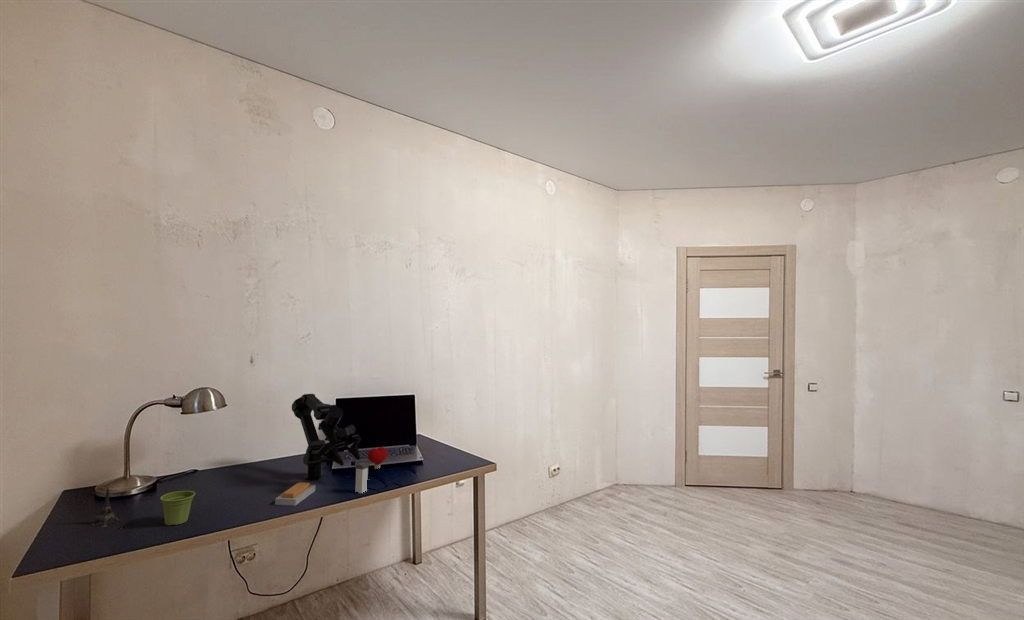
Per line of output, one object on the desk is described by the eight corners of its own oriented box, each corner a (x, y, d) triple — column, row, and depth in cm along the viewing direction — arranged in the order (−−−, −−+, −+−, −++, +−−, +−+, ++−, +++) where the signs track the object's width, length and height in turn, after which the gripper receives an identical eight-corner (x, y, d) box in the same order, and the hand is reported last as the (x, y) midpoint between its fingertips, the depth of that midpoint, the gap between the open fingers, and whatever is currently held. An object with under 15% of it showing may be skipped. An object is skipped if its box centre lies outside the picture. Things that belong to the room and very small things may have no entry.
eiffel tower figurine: (124, 529, 150) (126, 487, 150) (81, 536, 144) (84, 492, 145) (130, 513, 162) (132, 474, 163) (91, 519, 157) (94, 478, 157)
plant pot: (181, 514, 162) (183, 488, 162) (200, 519, 158) (201, 493, 158) (152, 524, 153) (153, 497, 153) (170, 530, 149) (172, 502, 150)
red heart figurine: (382, 466, 224) (383, 444, 224) (390, 469, 218) (390, 447, 219) (364, 469, 217) (365, 447, 218) (371, 473, 212) (372, 451, 212)
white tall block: (354, 492, 188) (355, 464, 188) (360, 489, 191) (361, 462, 191) (361, 493, 186) (362, 465, 187) (367, 491, 189) (368, 463, 190)
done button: (298, 486, 187) (299, 482, 187) (309, 487, 187) (309, 482, 187) (282, 498, 174) (282, 493, 174) (293, 498, 174) (293, 493, 174)
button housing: (296, 489, 189) (296, 484, 189) (315, 490, 188) (315, 485, 188) (274, 504, 173) (275, 498, 173) (295, 505, 172) (295, 499, 172)
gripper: (325, 423, 185) (346, 455, 180) (358, 415, 202) (378, 444, 197) (309, 440, 188) (329, 473, 183) (343, 432, 205) (362, 461, 200)
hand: (351, 462), depth 191 cm, fingers open, 9 cm apart
